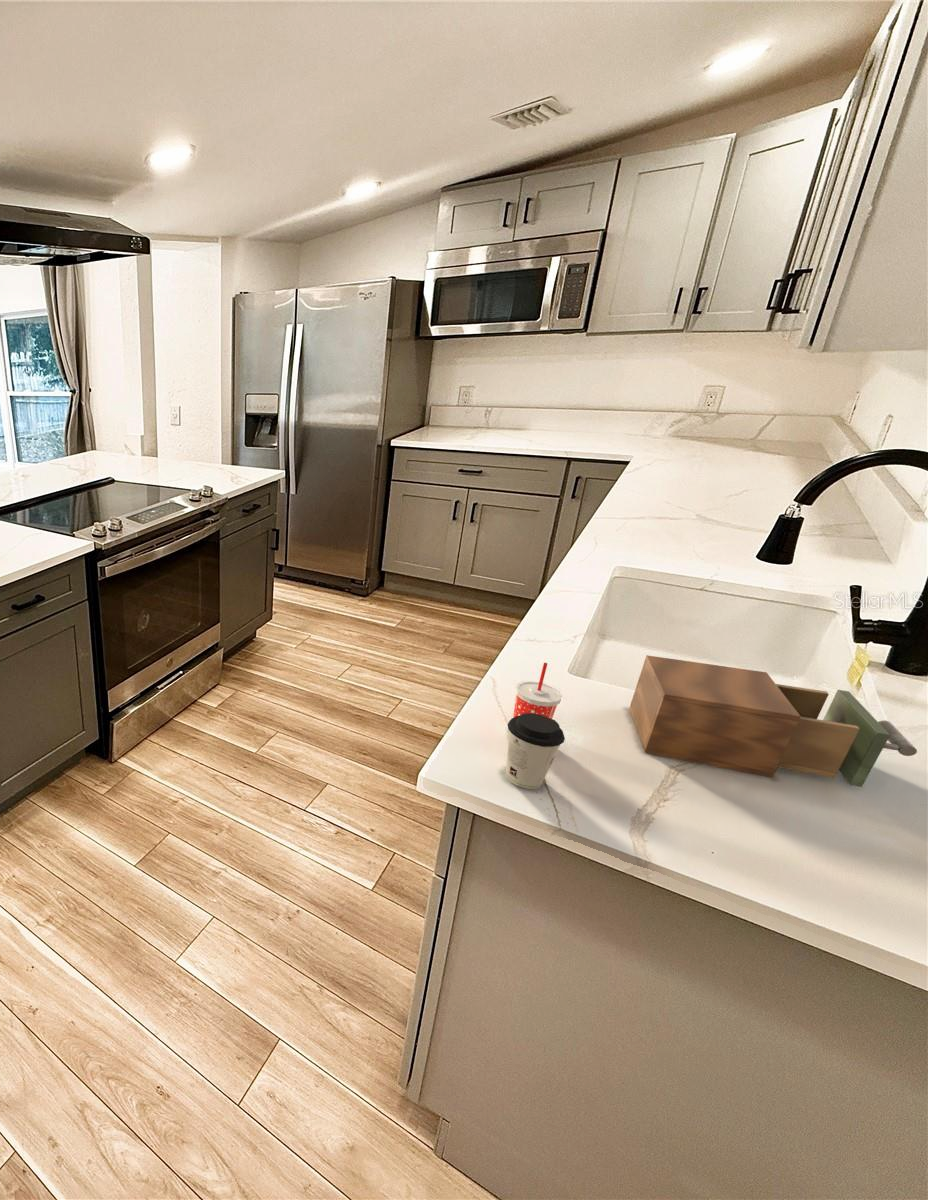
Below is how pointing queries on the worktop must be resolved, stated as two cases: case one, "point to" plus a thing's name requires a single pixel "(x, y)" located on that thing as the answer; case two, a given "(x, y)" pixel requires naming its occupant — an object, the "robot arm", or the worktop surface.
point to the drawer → (837, 736)
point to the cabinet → (712, 715)
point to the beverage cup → (536, 697)
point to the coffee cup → (531, 749)
